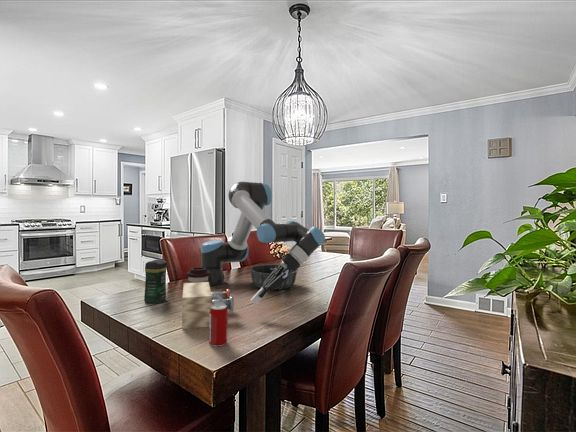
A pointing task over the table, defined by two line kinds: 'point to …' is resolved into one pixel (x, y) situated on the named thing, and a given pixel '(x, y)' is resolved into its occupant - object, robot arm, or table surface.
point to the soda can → (218, 325)
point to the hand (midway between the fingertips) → (253, 302)
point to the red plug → (221, 294)
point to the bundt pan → (263, 272)
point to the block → (196, 305)
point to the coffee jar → (155, 281)
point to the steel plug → (225, 303)
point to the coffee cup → (198, 275)
